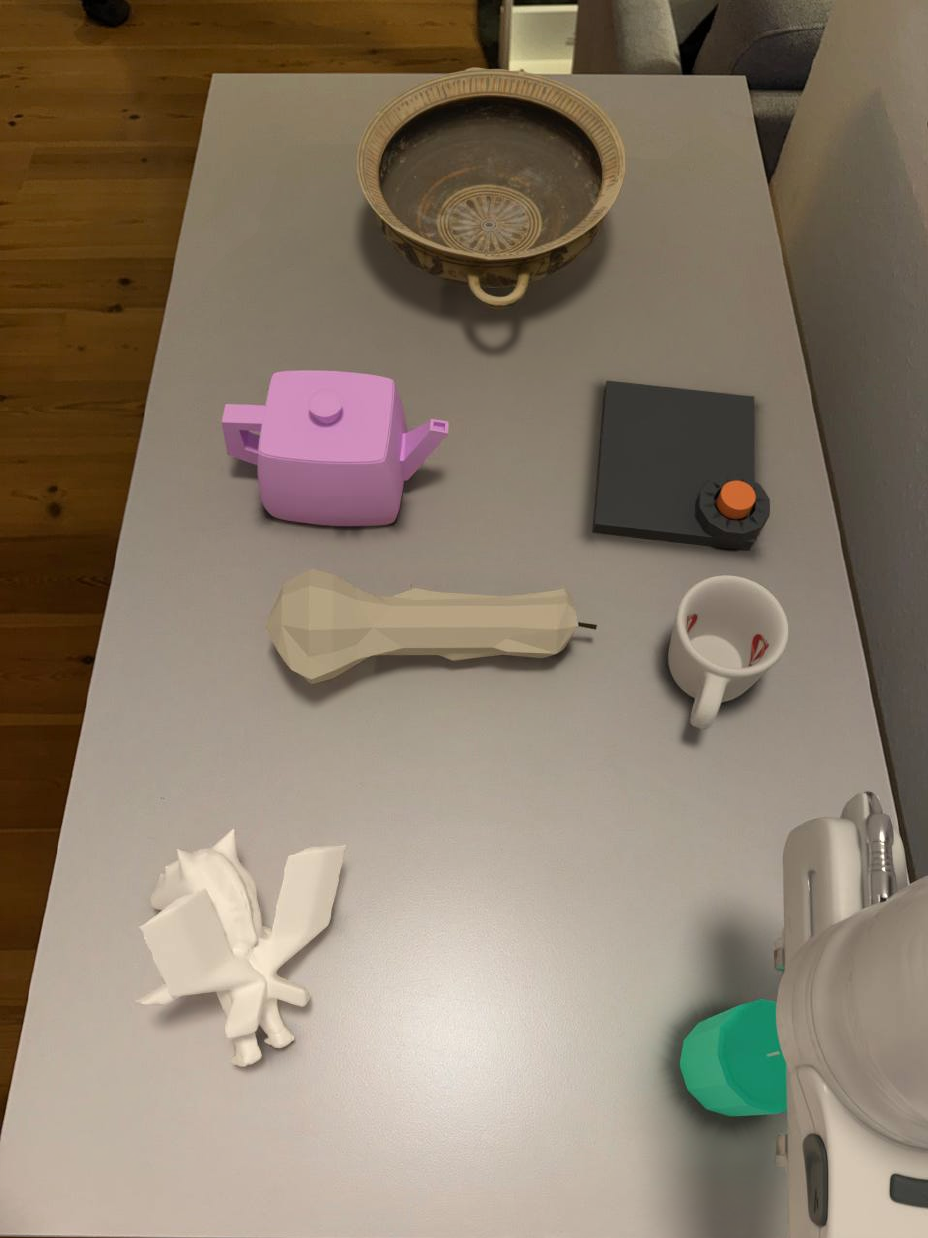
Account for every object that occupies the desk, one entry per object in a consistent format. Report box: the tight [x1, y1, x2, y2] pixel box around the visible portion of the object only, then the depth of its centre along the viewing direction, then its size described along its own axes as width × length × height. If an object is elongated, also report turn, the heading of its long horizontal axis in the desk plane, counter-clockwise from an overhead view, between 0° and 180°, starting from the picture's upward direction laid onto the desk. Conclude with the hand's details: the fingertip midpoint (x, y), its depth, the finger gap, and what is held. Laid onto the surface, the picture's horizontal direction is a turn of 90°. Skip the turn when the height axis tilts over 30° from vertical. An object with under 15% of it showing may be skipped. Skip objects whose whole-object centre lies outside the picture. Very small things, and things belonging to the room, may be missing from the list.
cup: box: [667, 574, 790, 730], centre depth 75 cm, size 11×8×8 cm
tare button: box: [717, 481, 756, 519], centre depth 83 cm, size 3×3×2 cm
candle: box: [679, 998, 787, 1117], centre depth 62 cm, size 6×6×12 cm
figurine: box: [133, 828, 347, 1068], centre depth 66 cm, size 15×12×14 cm
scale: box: [592, 380, 771, 551], centre depth 87 cm, size 14×15×3 cm
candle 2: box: [264, 567, 598, 685], centre depth 77 cm, size 9×8×25 cm
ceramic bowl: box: [355, 66, 627, 309], centre depth 95 cm, size 30×24×10 cm
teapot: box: [221, 369, 449, 527], centre depth 83 cm, size 18×10×10 cm, turn 87°
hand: (789, 1051), depth 54 cm, fingers open, 8 cm apart
